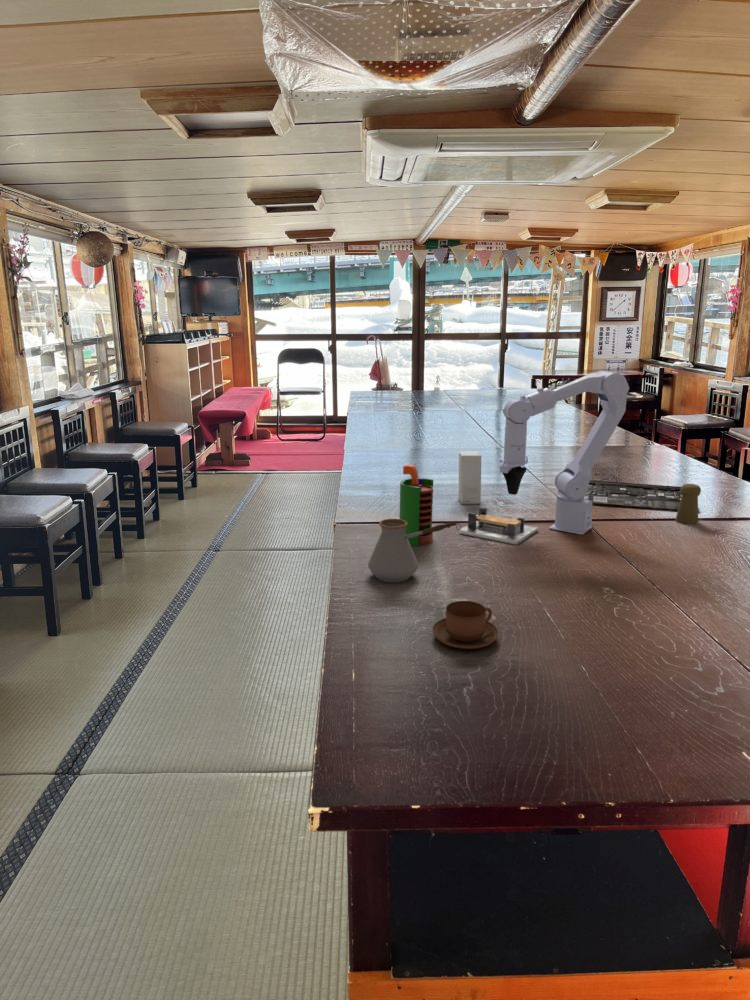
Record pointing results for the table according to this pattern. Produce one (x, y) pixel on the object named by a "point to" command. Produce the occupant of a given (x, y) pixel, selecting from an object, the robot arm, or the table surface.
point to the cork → (688, 504)
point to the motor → (416, 505)
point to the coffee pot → (397, 551)
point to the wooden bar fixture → (497, 530)
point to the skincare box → (470, 477)
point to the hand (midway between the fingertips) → (512, 493)
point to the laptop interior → (634, 495)
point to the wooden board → (496, 520)
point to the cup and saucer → (466, 626)
